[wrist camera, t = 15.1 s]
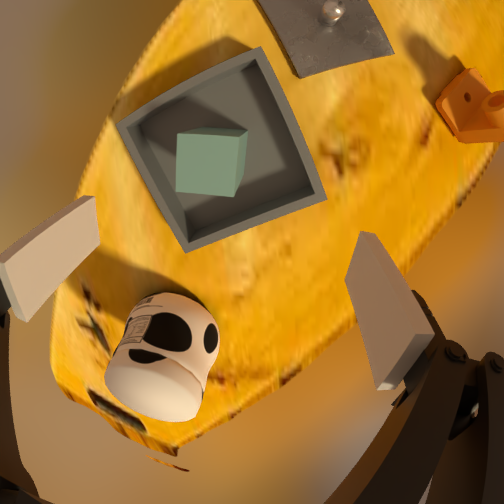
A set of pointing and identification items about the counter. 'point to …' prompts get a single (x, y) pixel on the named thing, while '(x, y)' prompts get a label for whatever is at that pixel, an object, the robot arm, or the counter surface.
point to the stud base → (326, 33)
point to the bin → (256, 160)
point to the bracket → (472, 109)
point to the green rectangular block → (210, 160)
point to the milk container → (164, 357)
